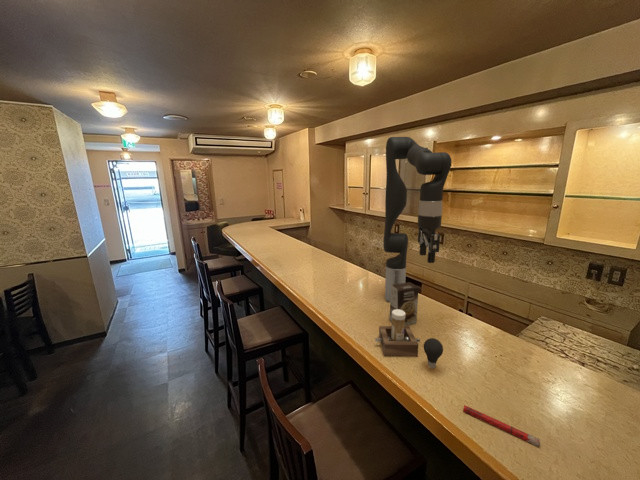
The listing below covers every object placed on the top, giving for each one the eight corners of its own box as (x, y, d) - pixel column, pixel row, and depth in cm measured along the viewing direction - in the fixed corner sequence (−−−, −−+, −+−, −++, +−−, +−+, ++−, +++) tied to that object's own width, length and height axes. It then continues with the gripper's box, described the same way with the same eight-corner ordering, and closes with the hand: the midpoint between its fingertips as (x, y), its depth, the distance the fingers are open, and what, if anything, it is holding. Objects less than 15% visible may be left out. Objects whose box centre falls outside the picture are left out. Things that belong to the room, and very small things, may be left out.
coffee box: (397, 327, 103) (399, 290, 99) (389, 319, 109) (390, 284, 105) (417, 323, 105) (419, 287, 101) (407, 315, 111) (409, 281, 108)
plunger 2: (403, 340, 93) (403, 335, 92) (418, 340, 92) (418, 335, 92) (404, 345, 90) (405, 339, 90) (420, 345, 90) (420, 339, 90)
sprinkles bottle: (402, 351, 89) (404, 316, 86) (389, 347, 91) (390, 313, 88) (404, 344, 93) (406, 310, 90) (392, 340, 95) (393, 307, 92)
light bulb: (425, 358, 85) (427, 332, 83) (443, 366, 82) (446, 338, 79) (419, 368, 81) (421, 340, 79) (438, 376, 78) (441, 348, 75)
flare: (538, 449, 57) (540, 443, 57) (462, 413, 66) (463, 408, 66) (538, 443, 58) (539, 437, 58) (463, 408, 67) (464, 403, 67)
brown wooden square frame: (379, 336, 98) (379, 325, 97) (408, 336, 97) (409, 326, 96) (384, 356, 87) (384, 344, 86) (417, 356, 86) (418, 344, 85)
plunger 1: (374, 340, 93) (375, 334, 93) (389, 340, 93) (390, 334, 93) (375, 344, 91) (376, 338, 91) (391, 344, 91) (391, 339, 90)
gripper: (412, 211, 95) (410, 253, 99) (425, 217, 81) (422, 265, 85) (433, 210, 95) (430, 252, 99) (450, 216, 81) (445, 265, 85)
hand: (426, 258), depth 92 cm, fingers open, 8 cm apart
